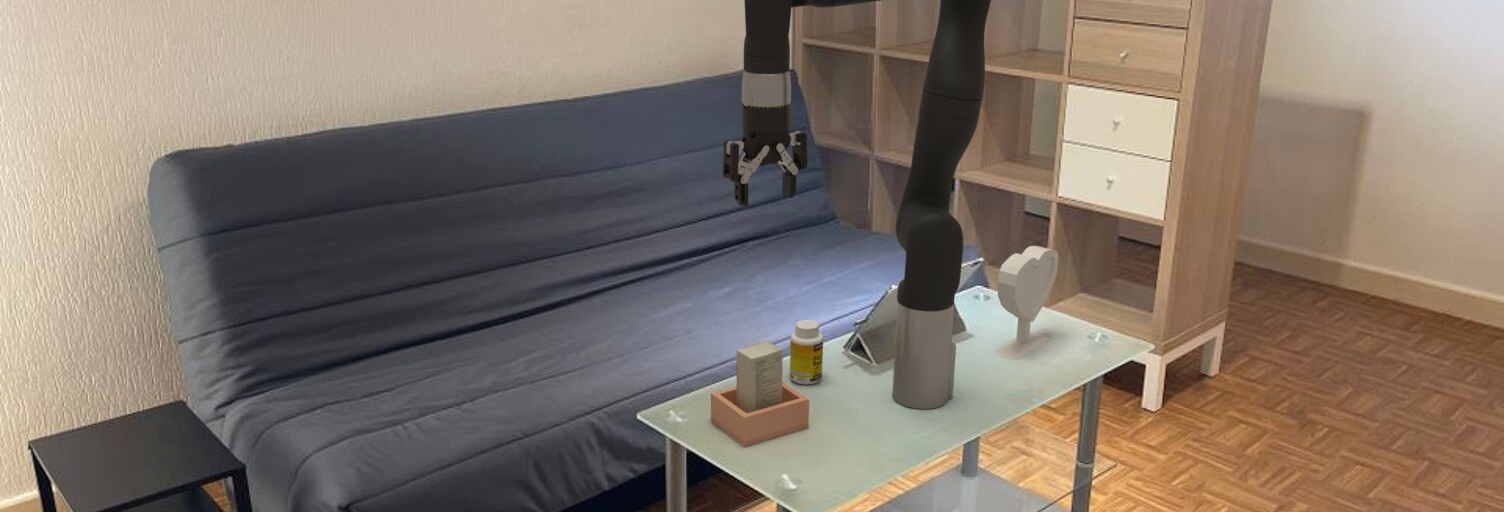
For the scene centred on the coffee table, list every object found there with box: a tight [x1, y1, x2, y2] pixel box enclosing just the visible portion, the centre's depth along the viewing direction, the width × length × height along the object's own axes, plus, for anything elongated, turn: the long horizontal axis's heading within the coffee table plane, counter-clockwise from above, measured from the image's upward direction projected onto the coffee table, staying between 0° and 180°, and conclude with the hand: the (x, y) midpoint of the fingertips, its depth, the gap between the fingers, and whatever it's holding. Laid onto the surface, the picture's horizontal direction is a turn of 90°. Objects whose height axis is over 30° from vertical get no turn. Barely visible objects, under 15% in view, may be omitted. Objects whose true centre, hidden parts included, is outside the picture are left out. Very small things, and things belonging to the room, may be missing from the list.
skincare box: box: [735, 340, 784, 413], centre depth 195 cm, size 6×4×12 cm
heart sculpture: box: [993, 245, 1059, 360], centre depth 224 cm, size 16×5×18 cm, turn 139°
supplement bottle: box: [789, 319, 824, 385], centre depth 211 cm, size 6×6×10 cm
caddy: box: [710, 381, 810, 448], centre depth 196 cm, size 12×10×5 cm
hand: (765, 200), depth 195 cm, fingers open, 8 cm apart
